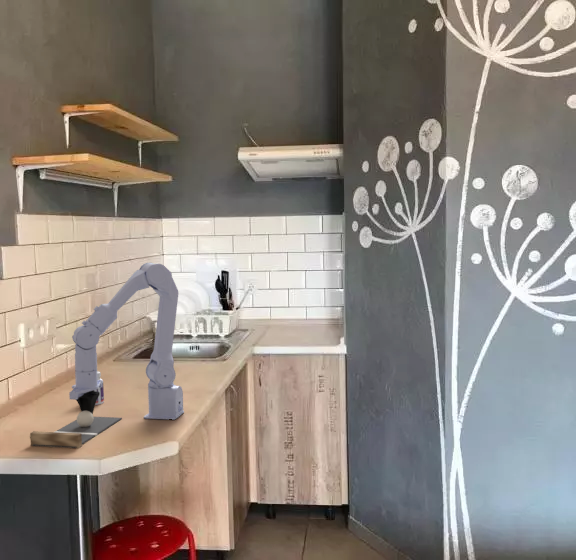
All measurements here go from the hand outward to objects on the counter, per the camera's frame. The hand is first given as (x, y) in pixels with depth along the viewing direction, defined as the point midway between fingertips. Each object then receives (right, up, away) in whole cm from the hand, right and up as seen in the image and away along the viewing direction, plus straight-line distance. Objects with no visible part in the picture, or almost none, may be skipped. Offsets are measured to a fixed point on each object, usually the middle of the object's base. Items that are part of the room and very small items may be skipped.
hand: (87, 419), depth 176 cm
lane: (0, -2, -5) cm, 5 cm away
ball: (+1, -1, 0) cm, 1 cm away
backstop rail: (-3, -3, -16) cm, 17 cm away
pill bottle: (-5, -1, +24) cm, 25 cm away
